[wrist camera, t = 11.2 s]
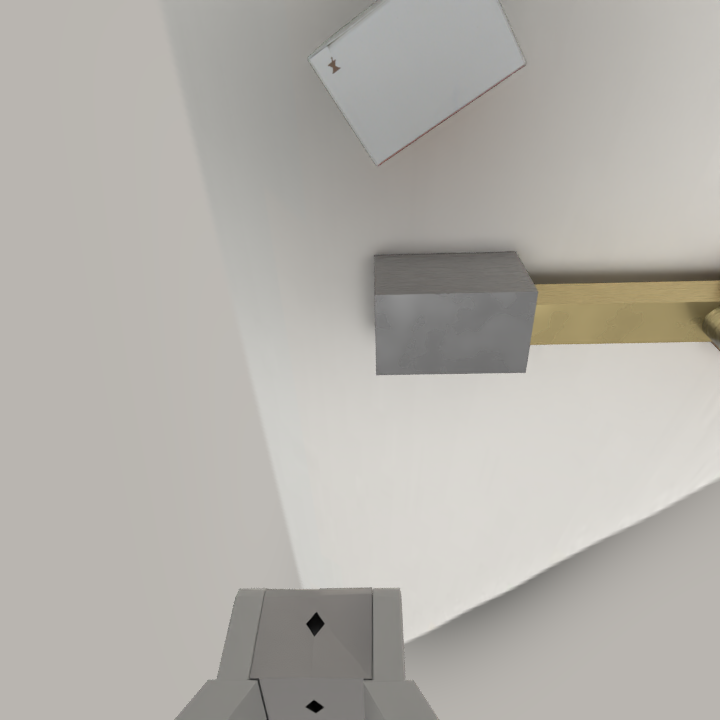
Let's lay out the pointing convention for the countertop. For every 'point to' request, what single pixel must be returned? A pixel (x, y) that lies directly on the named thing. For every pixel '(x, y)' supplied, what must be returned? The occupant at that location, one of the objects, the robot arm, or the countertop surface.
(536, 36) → the countertop surface
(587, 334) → the yellow bar with knob
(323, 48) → the small box
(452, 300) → the sleeve
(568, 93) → the countertop surface
